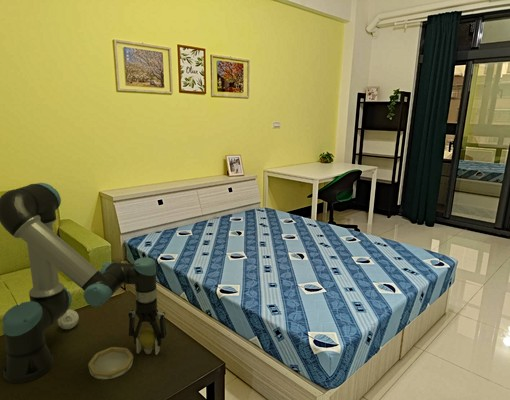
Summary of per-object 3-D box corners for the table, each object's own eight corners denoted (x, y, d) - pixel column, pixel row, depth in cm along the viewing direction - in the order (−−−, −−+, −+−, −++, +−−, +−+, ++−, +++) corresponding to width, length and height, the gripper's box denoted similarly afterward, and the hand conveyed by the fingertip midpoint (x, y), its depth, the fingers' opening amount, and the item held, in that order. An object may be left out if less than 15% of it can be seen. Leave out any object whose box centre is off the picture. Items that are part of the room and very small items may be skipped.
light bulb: (152, 359, 135) (151, 336, 133) (136, 356, 136) (135, 333, 134) (160, 348, 142) (160, 326, 139) (144, 345, 143) (144, 323, 140)
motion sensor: (58, 334, 147) (56, 318, 145) (58, 324, 153) (56, 308, 152) (79, 329, 151) (78, 313, 149) (78, 320, 157) (77, 304, 155)
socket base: (80, 377, 124) (80, 372, 124) (101, 349, 139) (101, 345, 138) (122, 381, 124) (122, 376, 123) (139, 352, 138) (138, 348, 138)
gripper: (116, 301, 130) (119, 356, 135) (169, 305, 129) (170, 360, 134) (124, 291, 137) (127, 343, 143) (174, 295, 136) (175, 347, 142)
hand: (148, 351), depth 138 cm, fingers closed on light bulb, 7 cm apart
